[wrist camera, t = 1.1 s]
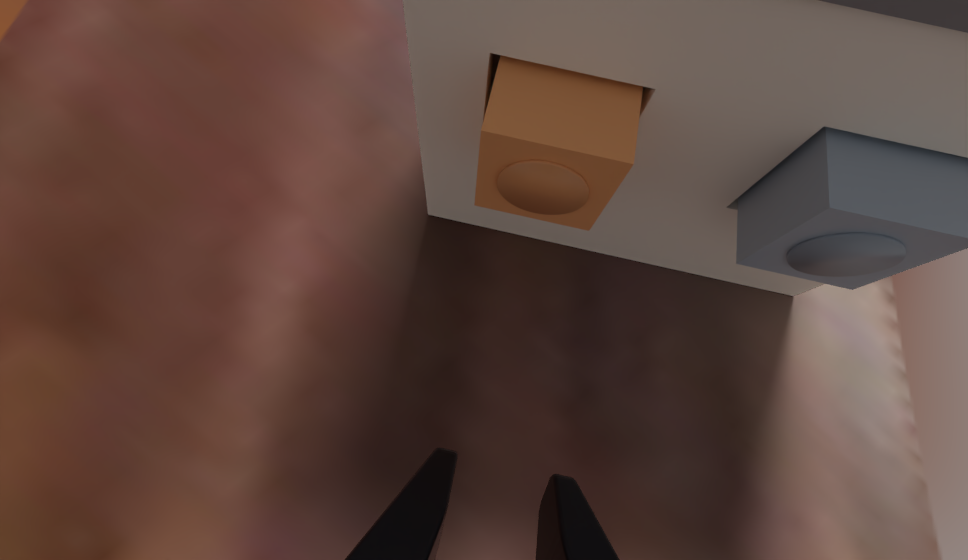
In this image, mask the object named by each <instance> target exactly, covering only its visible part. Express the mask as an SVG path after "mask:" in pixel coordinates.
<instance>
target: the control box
mask: <svg viewBox="0 0 968 560" xmlns="http://www.w3.org/2000/svg"><path fill="white" fill-rule="evenodd" d="M403 8H404V16H405V25H406V33H407V41H408V50H409V58H410V67H411V75H412V84H413V92H414V101H415V109H416V117H417V126H418V134H419V143H420V151H421V160H422V168H423V176H424V185H425V193H426V202H427V210H428V215H432V216H437V217H441V218H446V219H450V220H455V221H459V222H464V223H468V224H472V225H477V226H481V227H486V228H490V229H495V230H499V231H504V232H508V233H513V234H517V235H522V236H526V237H531V238H535V239H540V240H544V241H549V242H553V243H557V244H562V245H566V246H571V247H575V248H580V249H584V250H589V251H593V252H598V253H602V254H607V255H611V256H616V257H620V258H625V259H629V260H634V261H638V262H643V263H647V264H651V265H656V266H660V267H665V268H669V269H674V270H678V271H683V272H687V273H692V274H696V275H701V276H705V277H710V278H714V279H719V280H723V281H728V282H732V283H736V284H741V285H745V286H750V287H754V288H759V289H763V290H768V291H772V292H777V293H781V294H786V295H790V296H796V295H799V294H801V293H803V292H806V291H808V290H811V289H813V288H816V287H818V286H821V285H823V284H825V283H820V282H816V281H811V280H807V279H802V278H798V277H793V276H789V275H784V274H780V273H775V272H771V271H766V270H762V269H757V268H753V267H748V266H744V265H739V264H736V251H737V215H738V197H739V196H740V195H742V194H743V193H744V192H745V191H746V190H748V189H749V188H750V187H751V186H752V185H754V184H755V183H756V182H757V181H759V180H760V179H761V178H762V177H763V176H765V175H766V174H767V173H768V172H769V171H771V170H772V169H773V168H774V167H775V166H777V165H778V164H779V163H780V162H781V161H783V160H784V159H785V158H786V157H787V156H789V155H790V154H791V153H792V152H793V151H795V150H796V149H797V148H798V147H799V146H801V145H802V144H803V143H804V142H806V141H807V140H808V139H809V138H810V137H812V136H813V135H814V134H815V133H816V132H818V131H819V130H820V129H821V128H822V127H824V126H825V127H830V128H834V129H839V130H844V131H848V132H853V133H857V134H862V135H866V136H871V137H875V138H880V139H884V140H889V141H894V142H898V143H903V144H907V145H912V146H916V147H921V148H925V149H930V150H935V151H939V152H944V153H948V154H953V155H957V156H962V157H966V158H968V0H403ZM501 55H502V56H507V57H511V58H516V59H520V60H525V61H529V62H534V63H539V64H543V65H548V66H552V67H557V68H561V69H566V70H570V71H575V72H580V73H584V74H589V75H593V76H598V77H602V78H607V79H611V80H616V81H620V82H625V83H630V84H634V85H639V86H643V91H642V100H641V108H640V116H639V125H638V133H637V142H636V150H635V158H634V165H633V166H632V168H631V169H630V171H629V172H628V174H627V175H626V177H625V178H624V180H623V181H622V183H621V184H620V186H619V187H618V189H617V190H616V192H615V193H614V195H613V196H612V198H611V199H610V201H609V202H608V204H607V205H606V206H605V208H604V209H603V211H602V212H601V214H600V215H599V217H598V218H597V220H596V221H595V223H594V224H593V226H592V227H591V229H590V230H589V231H587V230H583V229H578V228H574V227H569V226H565V225H560V224H556V223H551V222H547V221H542V220H538V219H533V218H529V217H524V216H520V215H515V214H511V213H506V212H502V211H497V210H493V209H488V208H484V207H479V206H475V205H474V203H475V192H476V180H477V169H478V158H479V147H480V136H481V128H482V124H483V121H484V117H485V113H486V109H487V105H488V102H489V98H490V94H491V90H492V86H493V82H494V79H495V75H496V71H497V67H498V63H499V60H500V56H501Z"/></svg>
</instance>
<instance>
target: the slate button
mask: <svg viewBox="0 0 968 560" xmlns="http://www.w3.org/2000/svg"><path fill="white" fill-rule="evenodd" d="M967 248H968V158H966V157H962V156H957V155H953V154H948V153H944V152H939V151H935V150H930V149H925V148H921V147H916V146H912V145H907V144H903V143H898V142H894V141H889V140H884V139H880V138H875V137H871V136H866V135H862V134H857V133H853V132H848V131H844V130H839V129H834V128H830V127H825V126H824V127H822V128H821V129H820V130H819V131H818V132H816V133H815V134H814V135H813V136H812V137H810V138H809V139H808V140H807V141H806V142H804V143H803V144H802V145H801V146H799V147H798V148H797V149H796V150H795V151H793V152H792V153H791V154H790V155H789V156H787V157H786V158H785V159H784V160H783V161H781V162H780V163H779V164H778V165H777V166H775V167H774V168H773V169H772V170H771V171H769V172H768V173H767V174H766V175H765V176H763V177H762V178H761V179H760V180H759V181H757V182H756V183H755V184H754V185H752V186H751V187H750V188H749V189H748V190H746V191H745V192H744V193H743V194H742V195H740V196H739V197H738V215H737V251H736V264H739V265H744V266H748V267H753V268H757V269H762V270H766V271H771V272H775V273H780V274H784V275H789V276H793V277H798V278H802V279H807V280H811V281H816V282H820V283H825V284H829V285H834V286H838V287H843V288H847V289H852V290H853V289H856V288H858V287H861V286H864V285H867V284H869V283H872V282H875V281H878V280H881V279H883V278H886V277H889V276H892V275H894V274H897V273H900V272H903V271H906V270H908V269H911V268H914V267H917V266H919V265H922V264H925V263H928V262H930V261H933V260H936V259H939V258H942V257H944V256H947V255H950V254H953V253H955V252H958V251H961V250H964V249H967Z"/></svg>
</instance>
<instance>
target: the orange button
mask: <svg viewBox="0 0 968 560" xmlns="http://www.w3.org/2000/svg"><path fill="white" fill-rule="evenodd" d="M642 91H643V86H639V85H634V84H630V83H625V82H620V81H616V80H611V79H607V78H602V77H598V76H593V75H589V74H584V73H580V72H575V71H570V70H566V69H561V68H557V67H552V66H548V65H543V64H539V63H534V62H529V61H525V60H520V59H516V58H511V57H507V56H502V55H501V56H500V60H499V63H498V67H497V71H496V75H495V79H494V82H493V86H492V90H491V94H490V98H489V102H488V105H487V109H486V113H485V117H484V121H483V124H482V128H481V136H480V147H479V158H478V169H477V180H476V192H475V203H474V205H475V206H479V207H484V208H488V209H493V210H497V211H502V212H506V213H511V214H515V215H520V216H524V217H529V218H533V219H538V220H542V221H547V222H551V223H556V224H560V225H565V226H569V227H574V228H578V229H583V230H587V231H589V230H590V229H591V227H592V226H593V224H594V223H595V221H596V220H597V218H598V217H599V215H600V214H601V212H602V211H603V209H604V208H605V206H606V205H607V204H608V202H609V201H610V199H611V198H612V196H613V195H614V193H615V192H616V190H617V189H618V187H619V186H620V184H621V183H622V181H623V180H624V178H625V177H626V175H627V174H628V172H629V171H630V169H631V168H632V166H633V165H634V158H635V150H636V142H637V133H638V125H639V116H640V108H641V100H642Z"/></svg>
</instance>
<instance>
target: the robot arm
mask: <svg viewBox="0 0 968 560" xmlns="http://www.w3.org/2000/svg"><path fill="white" fill-rule="evenodd" d="M457 456H458V454H457V452H456V451H453V450H448V449H444V448H437V449H435V450H434V451H433V453H432V454H431V455H430V456H429V458H428V459H427V460H426V461H425V462H424V464H423V465H422V466H421V467H420V469H419V470H418V471H417V472H416V473H415V475H414V476H413V477H412V478H411V480H410V481H409V482H408V483H407V484H406V486H405V487H404V488H403V489H402V491H401V492H400V493H399V494H398V495H397V497H396V498H395V499H394V500H393V501H392V503H391V504H390V505H389V506H388V508H387V509H386V510H385V511H384V512H383V514H382V515H381V516H380V517H379V519H378V520H377V521H376V522H375V523H374V525H373V526H372V527H371V528H370V530H369V531H368V532H367V533H366V534H365V536H364V537H363V538H362V539H361V540H360V542H359V543H358V544H357V545H356V547H355V548H354V549H353V550H352V551H351V553H350V554H349V555H348V556H347V558H346V559H345V560H435V558H436V553H437V549H438V545H439V541H440V536H441V532H442V528H443V524H444V520H445V515H446V511H447V507H448V503H449V498H450V493H451V488H452V482H453V477H454V472H455V467H456V462H457ZM536 560H619V558H618V556H617V555H616V553H615V551H614V549H613V547H612V546H611V544H610V542H609V540H608V538H607V536H606V535H605V533H604V531H603V529H602V527H601V526H600V524H599V522H598V520H597V518H596V517H595V515H594V513H593V511H592V509H591V508H590V506H589V504H588V502H587V500H586V499H585V497H584V495H583V493H582V491H581V490H580V488H579V486H578V484H577V482H576V481H575V480H574V479H573V478H571V477H568V476H563V475H559V474H553V475H552V476H551V477H550V480H549V482H548V485H547V488H546V490H545V493H544V496H543V498H542V501H541V505H540V510H539V520H538V534H537V548H536Z"/></svg>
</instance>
